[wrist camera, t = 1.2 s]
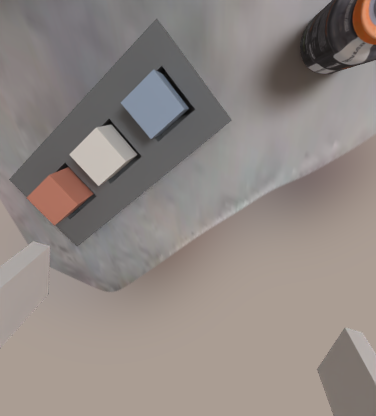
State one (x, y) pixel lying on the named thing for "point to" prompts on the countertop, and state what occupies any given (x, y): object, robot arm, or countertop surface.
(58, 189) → the key red
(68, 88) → the countertop surface
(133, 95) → the key blue
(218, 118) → the frame
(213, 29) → the countertop surface
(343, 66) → the pill bottle
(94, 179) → the key white
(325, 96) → the countertop surface
